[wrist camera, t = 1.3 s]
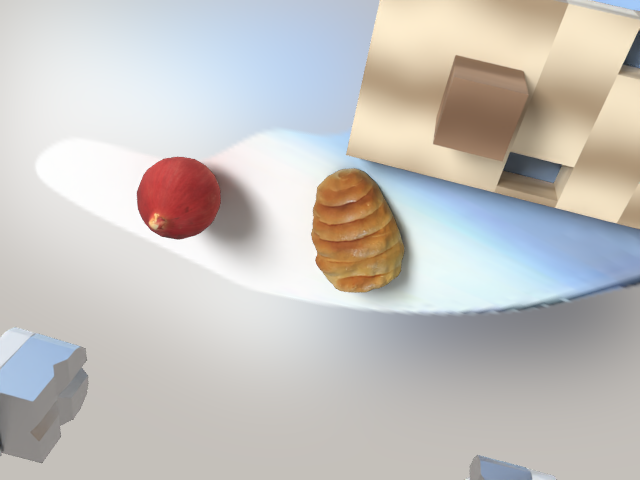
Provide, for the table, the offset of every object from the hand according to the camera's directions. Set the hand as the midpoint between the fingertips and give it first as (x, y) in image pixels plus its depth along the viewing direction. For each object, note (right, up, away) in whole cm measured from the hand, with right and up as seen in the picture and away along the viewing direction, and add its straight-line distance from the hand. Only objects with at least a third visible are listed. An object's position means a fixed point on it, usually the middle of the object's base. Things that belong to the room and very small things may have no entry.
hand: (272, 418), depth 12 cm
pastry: (+4, +5, +34) cm, 35 cm away
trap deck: (+15, +13, +26) cm, 32 cm away
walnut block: (+10, +12, +24) cm, 29 cm away
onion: (-8, +9, +34) cm, 36 cm away
